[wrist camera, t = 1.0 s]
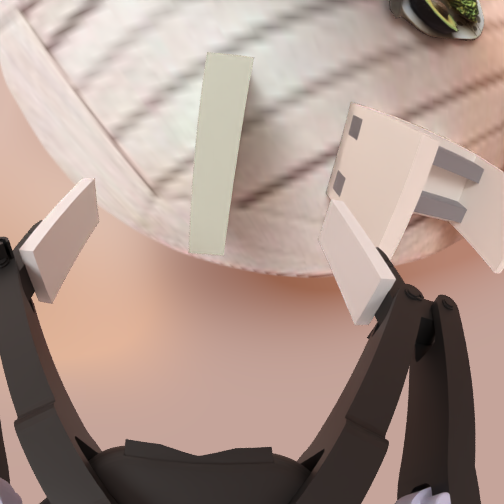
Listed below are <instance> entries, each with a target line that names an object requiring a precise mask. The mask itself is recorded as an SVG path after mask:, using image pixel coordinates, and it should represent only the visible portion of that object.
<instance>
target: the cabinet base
mask: <svg viewBox="0 0 504 504" xmlns="http://www.w3.org/2000/svg"><path fill="white" fill-rule="evenodd" d="M326 193H327V195H328V196H329V198H330V199H332V200H338V201H343V202H344V203H345V205H346V206H347V207H348V209H349V210H350V211H351V213H352V214H353V216H354V217H355V218H356V220H357V221H358V223H359V224H360V225H361V227H362V228H363V230H364V231H365V233H366V234H367V235H368V237H369V238H370V240H371V241H372V243H373V244H374V246H375V247H378V248H380V249H381V250H382V251H383V252H384V253H385V254H386V255H387V257H388V258H389V260H391V258H392V256H393V254H394V252H395V250H396V248H397V246H398V244H399V242H400V240H401V238H402V236H403V234H404V231H405V229H406V227H407V225H408V223H409V221H410V218H411V216H412V214H418V215H422V216H427V217H431V218H435V219H440V220H444V221H448V222H449V223H450V224H451V225H452V226H453V227H454V228H455V229H456V230H457V231H458V232H459V233H460V234H461V235H462V236H463V237H464V238H465V239H466V240H467V241H468V243H469V244H470V245H471V246H472V247H473V248H474V249H475V250H476V251H477V253H478V254H479V255H480V256H481V257H482V259H483V260H484V261H485V262H486V263H487V264H488V266H489V267H490V268H491V269H492V271H493V272H494V273H501V272H502V270H503V269H504V172H503V171H502V170H500V169H499V168H497V167H496V166H494V165H493V164H491V163H490V162H488V161H487V160H485V159H483V158H482V157H480V156H479V155H477V154H475V153H473V152H472V151H470V150H468V149H466V148H464V147H462V146H460V145H458V144H456V143H454V142H452V141H450V140H448V139H446V138H444V137H442V136H440V135H438V134H436V133H433V132H431V131H429V130H427V129H424V128H422V127H420V126H417V125H415V124H412V123H410V122H408V121H405V120H402V119H400V118H397V117H395V116H392V115H389V114H386V113H384V112H381V111H378V110H375V109H372V108H369V107H366V106H363V105H360V104H356V103H353V102H351V104H350V108H349V112H348V116H347V120H346V123H345V127H344V131H343V135H342V138H341V142H340V146H339V149H338V153H337V157H336V160H335V164H334V167H333V171H332V174H331V177H330V181H329V184H328V188H327V191H326Z"/></svg>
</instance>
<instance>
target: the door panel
mask: <svg viewBox="0 0 504 504" xmlns="http://www.w3.org/2000/svg"><path fill="white" fill-rule="evenodd" d="M253 60H254V57H247V56H239V55H230V54H220V53H208V52H207V57H206V63H205V70H204V77H203V84H202V92H201V99H200V108H199V116H198V125H197V135H196V145H195V156H194V168H193V181H192V195H191V212H190V232H189V253H195V254H208V255H220V256H224V249H225V242H226V234H227V226H228V219H229V212H230V204H231V197H232V190H233V183H234V176H235V170H236V163H237V156H238V150H239V143H240V137H241V131H242V124H243V118H244V112H245V106H246V100H247V94H248V88H249V82H250V77H251V71H252V65H253Z"/></svg>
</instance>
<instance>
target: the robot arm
mask: <svg viewBox="0 0 504 504" xmlns="http://www.w3.org/2000/svg"><path fill="white" fill-rule="evenodd" d="M98 223H99V216H98V208H97V199H96V189H95V178H83V179H82V180H80V181H79V182H78V183H77V184H76V185H75V186H74V187H73V188H72V189H71V191H69V193H68V194H67V195H66V196H65V197H64V198H63V199H62V200H61V201H60V202H59V203H58V204H57V205H56V206H55V207H54V208H53V210H52V211H51V212H50V213H49V214H48V215H47V216H46V217H45V219H44V220H41V221H39V222H38V223H36V224H35V225H33V226H32V228H31V229H30V230H29V231H28V233H27V234H26V235H25V236H24V237H23V239H22V240H21V241H20V242H19V243H18V245H17V246H16V247H15V248H14V250H13V251H12V248H11V246H10V242H9V240H8V238H6V237H0V355H1V360H2V364H3V369H4V373H5V377H6V380H7V384H8V387H9V391H10V394H11V397H12V401H13V404H14V407H15V410H16V413H17V416H18V419H17V420H15V422H14V427H15V430H16V433H17V436H18V438H19V441H20V443H21V446H22V448H23V450H24V453H25V455H26V457H27V459H28V462H29V464H30V466H31V468H32V470H33V472H34V474H35V476H36V478H37V480H38V481H39V483H40V485H41V487H42V489H43V491H44V492H45V494H46V496H47V498H46V499H44V500H43V501H42V502H41V503H40V504H361V503H362V501H363V499H364V497H365V495H366V494H367V492H368V490H369V488H370V486H371V484H372V482H373V480H374V478H375V476H376V474H377V472H378V470H379V468H380V466H381V463H382V461H383V459H384V457H385V454H386V452H387V449H388V445H389V441H388V440H386V439H385V435H386V432H387V429H388V427H389V424H390V422H391V419H392V417H393V414H394V411H395V409H396V406H397V403H398V400H399V397H400V394H401V391H402V388H403V385H404V382H405V379H406V375H407V372H408V369H409V365H410V371H409V397H408V398H409V399H408V412H407V423H406V433H405V441H404V448H403V455H402V462H401V468H400V474H399V481H398V493H397V501H396V503H395V504H481V501H480V494H479V487H478V481H477V476H476V470H475V413H474V399H473V389H472V380H471V373H470V366H469V359H468V353H467V347H466V342H465V337H464V332H463V328H462V323H461V318H460V314H459V310H458V307H457V305H456V303H455V302H454V301H453V300H452V299H451V298H450V297H448V296H446V295H438V297H437V298H436V300H435V301H434V302H432V301H429V300H426V299H424V297H423V295H422V293H421V292H420V291H419V290H418V289H417V288H415V287H414V286H412V285H410V284H405V283H404V281H403V280H402V278H401V277H400V275H399V273H398V272H397V270H396V269H395V268H394V266H393V264H392V263H391V262H390V260H389V258H388V257H387V255H386V254H385V253H384V252H383V251H382V250H381V249H380V248H378V247H375V246H374V244H373V243H372V241H371V240H370V238H369V237H368V235H367V234H366V233H365V231H364V230H363V228H362V227H361V225H360V224H359V223H358V221H357V220H356V218H355V217H354V216H353V214H352V213H351V211H350V210H349V209H348V207H347V206H346V205H345V203H344V202H343V201H338V200H332V199H331V201H330V204H329V207H328V210H327V214H326V217H325V220H324V223H323V226H322V229H321V232H320V235H319V238H318V241H319V243H320V245H321V248H322V250H323V252H324V254H325V256H326V259H327V261H328V263H329V265H330V268H331V270H332V272H333V274H334V277H335V279H336V281H337V284H338V286H339V288H340V291H341V293H342V296H343V298H344V300H345V303H346V305H347V308H348V310H349V312H350V315H351V317H352V320H353V322H354V325H369V323H370V322H371V320H372V319H373V317H374V316H375V317H376V319H377V321H378V322H377V324H376V325H375V327H374V329H373V330H372V331H371V333H370V334H369V336H368V337H367V338H368V339H369V340H368V342H367V344H366V347H365V349H364V351H363V353H362V355H361V357H360V359H359V361H358V363H357V365H356V367H355V369H354V371H353V373H352V376H351V377H350V379H349V381H348V383H347V385H346V387H345V389H344V390H343V392H342V394H341V396H340V398H339V399H338V401H337V403H336V405H335V407H334V408H333V410H332V412H331V413H330V415H329V417H328V418H327V420H326V422H325V424H324V425H323V427H322V428H321V430H320V432H319V433H318V435H317V436H316V438H315V440H314V441H313V442H312V444H311V445H310V447H309V448H308V449H307V450H306V451H305V452H304V453H303V454H302V456H301V457H300V458H299V459H298V461H297V462H296V461H294V460H292V459H290V458H288V457H285V456H282V455H278V454H273V453H272V448H271V447H261V448H235V449H231V450H227V451H222V452H218V453H213V454H208V455H203V456H196V455H192V454H188V453H185V452H181V451H179V450H176V449H173V448H170V447H166V446H164V445H161V444H154V443H147V442H140V441H133V440H128V439H126V442H125V446H119V447H114V448H110V449H107V450H105V451H103V452H102V451H101V449H100V448H99V447H98V445H97V444H96V442H95V441H94V440H93V439H92V437H91V436H90V435H89V433H88V432H87V430H86V429H85V427H84V425H83V423H82V422H81V420H80V418H79V416H78V414H77V412H76V410H75V408H74V406H73V404H72V402H71V400H70V398H69V396H68V394H67V392H66V390H65V388H64V386H63V383H62V381H61V379H60V377H59V374H58V372H57V369H56V367H55V365H54V362H53V360H52V357H51V355H50V352H49V349H48V346H47V344H46V341H45V338H44V335H43V332H42V329H41V326H40V323H39V320H38V317H37V313H36V310H35V306H34V303H33V301H32V299H31V297H32V295H33V293H34V292H35V293H36V295H37V298H38V300H39V301H40V302H46V303H51V304H52V303H53V301H54V299H55V297H56V295H57V293H58V291H59V289H60V287H61V285H62V284H63V282H64V280H65V278H66V276H67V274H68V273H69V271H70V269H71V267H72V265H73V263H74V262H75V260H76V258H77V257H78V255H79V253H80V252H81V250H82V248H83V247H84V245H85V243H86V242H87V240H88V238H89V237H90V235H91V234H92V232H93V230H94V229H95V227H96V226H97V224H98ZM0 504H22V500H21V498H20V496H19V495H18V494H17V493H15V491H14V489H13V488H12V486H11V485H10V479H9V470H8V464H7V458H6V452H5V447H4V442H3V436H2V429H1V422H0Z"/></svg>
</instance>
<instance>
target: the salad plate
mask: <svg viewBox="0 0 504 504" xmlns="http://www.w3.org/2000/svg"><path fill="white" fill-rule="evenodd" d="M390 10H391V11H392V13H393V14H394V16H395V18H400V16H401V17H403V18H405V19H406V20H407V21H408V22H409V23H410V24H411V25H413V26H414V27H415V28H417V29H418V30H419V31H421V32H422V33H424V34H426V35H429V36H432V37H436V38H452V39H461V40H475V39H476V38H478V37H479V36H480V35H481V33H482V30H483V26H484V17H483V12H482V9H481V5H480V3H479V0H390Z"/></svg>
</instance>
